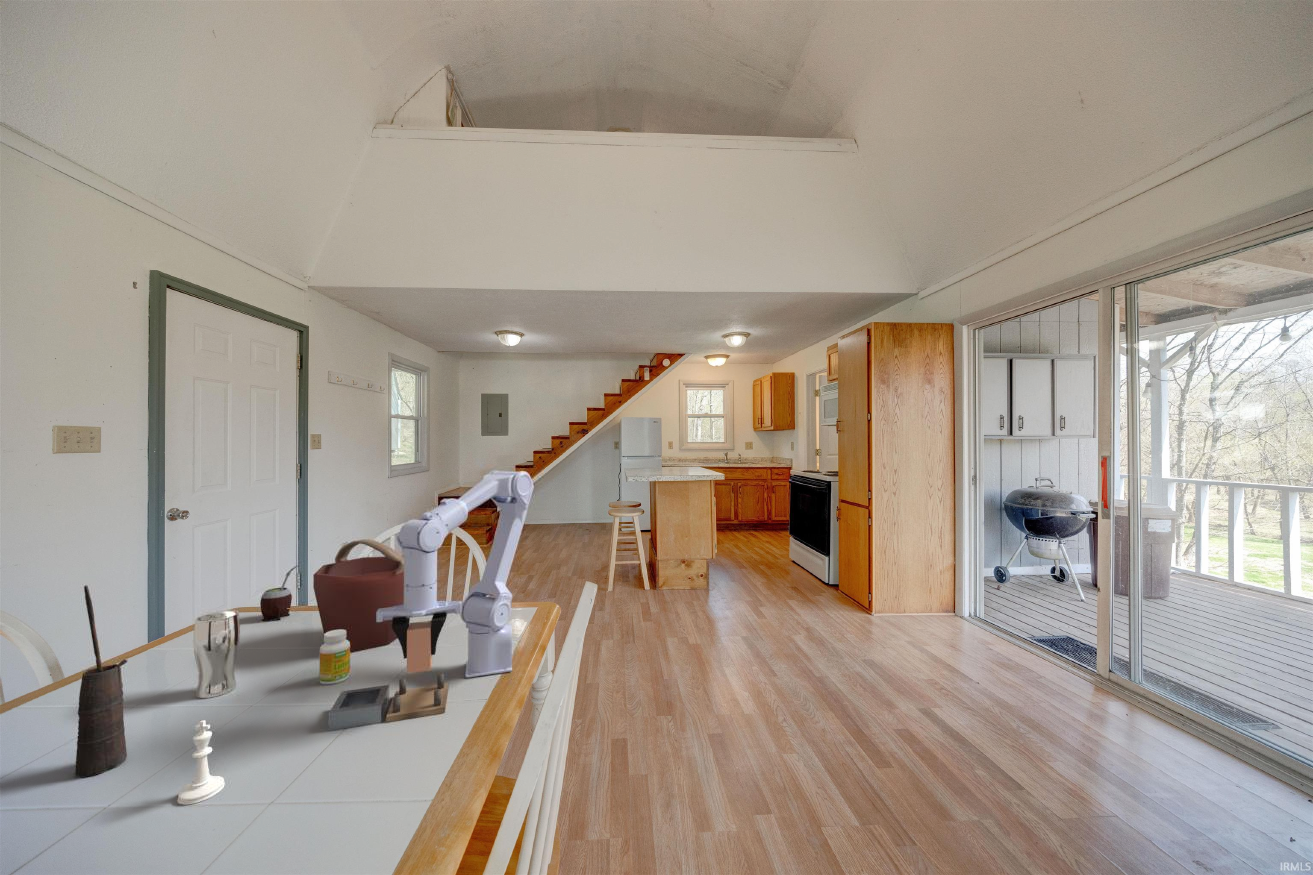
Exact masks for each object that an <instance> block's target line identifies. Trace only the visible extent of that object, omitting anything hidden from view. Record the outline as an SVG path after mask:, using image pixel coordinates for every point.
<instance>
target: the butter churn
mask: <svg viewBox="0 0 1313 875" xmlns="http://www.w3.org/2000/svg"><path fill="white" fill-rule="evenodd" d="M83 590H84V599H85V605H86V611H87V612H86V613H87V615H88V616H87V617H88V622H89V628H90V633H91V634H90V635H91V640H92V646H93V653H94V656H95V664H96V667H94V668H89V669H87V670H86V671H84V672H83V673H82V677H81V683H80V688H79V695H78V710H77V715H78V721H77V724H78V725H77V730H78V731H77V741H76V753H75V755H76V756H75V771H74V772H75V773H74V774H75V776H76V777H78V778H85V777H86V778H87V777H90V776H93V775H97V774H102V773H104V772H106V771H108V770H110V769H114V768H116V767H118V766H120V765H121V764H123V763H124V762H125V761H126V759H127V757H128V755H127V743H126V736H125V734H126V733H125V723H124V720H125V719H124V697H123V696H124V690H123V687H124V686H123V685H124V684H123V680H122V678H123V677H122V668H121V667H122V666H123V665H125V664H127V662H128V659H123V660H121V661H120V662H119V663H115V664H108V665H103V664H102V660H101V653H100V652H101V651H100V646H99V640H98V635H97V629H96V622H95V613H94V608H93V602H92V598H91V594H90V589H89V587H88V585H87V584H86V585H84V586H83Z"/></svg>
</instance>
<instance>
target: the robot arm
mask: <svg viewBox="0 0 1313 875" xmlns="http://www.w3.org/2000/svg"><path fill="white" fill-rule="evenodd" d="M534 488H535V486H534V483H533V480H532V477H531V475H530V474H529V472H527V471H525V470H524V471H523V470H521V471H502V470H496V469H495V470H494V469H493V470H491V471H489V472H488V473H487V474H485V475H483V476H482V480H481V481H479V482H478V483H477V484H476V485H474V486H473V487H472V488H470V489H469V490H468V491H467V492H465V493H464V494H463V495H461V496H460V497H459V498H443V499H442V500H440V503H439V505H437V506H436V507H435V508H433V509H431V510H430V511H427V512H426V511H425V512H424V513H422V515H421V517H420V518H419V519H410V520H408V521H406V522H405V523H404V524H403V525H402V526H401V528H400V530H399V533H398V535H396V542H397V545H398V546H399V547H400V548H401V553H402V554H401V556H404V605H399V606H394V607H388V608H381V609H378V611H377V612H376V622H383V620H392V625H391V626H392V629H393V631H394V632H395V634H396V636H397V640H398V641H399V645H400V647H401V651H402V655H403V659H407V629H408V627H409V625H410V618H420V617H429V616H432V617H431V620H430V621H431V627H432V642H431V655H433V656H435V655H436V652H437V643H438V640H439V636H440V634H441V632H442V629H443V627H444V625H445V622H446V621H447V620H446V619H447V616H448V614H454V615H459V616H460V619H461V620H462V622H463V623H465V628H466V629H467V660H466V664H465V665H466V666H465V678H468V679H469V678H473V677H480V676H488V675H494V674H496V675H497V674H501V673H508V672H512V670H513V658H514V649H513V633H512V632H513V630H512V629H513V628H512V624H508V621H509V619H510V617H511V612H512V611H511V610H512V609H511V606H512V604H511V603H512V600H513V594H512V593H511V591H510V590H509V589H508V587H507V581H508V578H509V574H510V572H511V568H512V564H513V562H514V557H515V555H516V551H517V548H518V544H519V541H520V538H521V534H522V531H523V528H524V525H525V521H526V518H527V514H528V509H529V508H528V507H529V506H530V501H531V498H532V494H533V491H534ZM490 499H491V501H493V503H494V504H495V505H496V507H497V508H499V509H500V511H501V513H502V514H501V517H500V520H499V523H498V527H497V529H496V532H495V536H494V538H493V542H492V545H491V549H490V551H489V555H488V559H487V560H486V561H487V562H486V564H485V567H484V571H483V573H482V578H481V580H479V581H478V582H477V583H476V584H473V585H472V586H471V587H470V589H469V591H468V594H467V596H466V597H465V598H464V600H463V602H462V600H456V601H454V600H451V601H449V600H448V601H447V600H446V601H444V600H440V601H439V600H438V549H440V548H441V546H442V545H443V543H444V540H445V539H446V537H447V536H448V535H449V534H450V533H452V532H453V531H454V530H455V529H457V528H458V527H460V526H461V525H462V524H463V523H465V522H466V521H467V519H468V514H469V513H470V512H471V511H473V510H475V509H476V508H477V507H479V506H481V505H482V504H484V503H485V502H487V501H489V500H490ZM491 596H492V597H491Z"/></svg>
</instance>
